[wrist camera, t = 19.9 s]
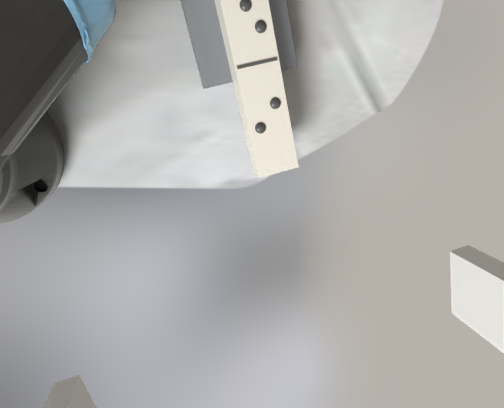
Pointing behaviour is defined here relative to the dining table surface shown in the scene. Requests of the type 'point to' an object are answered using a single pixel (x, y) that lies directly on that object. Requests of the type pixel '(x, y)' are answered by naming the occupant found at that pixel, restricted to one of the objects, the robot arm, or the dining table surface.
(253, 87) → the domino bar
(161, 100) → the dining table surface
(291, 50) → the charcoal platform
